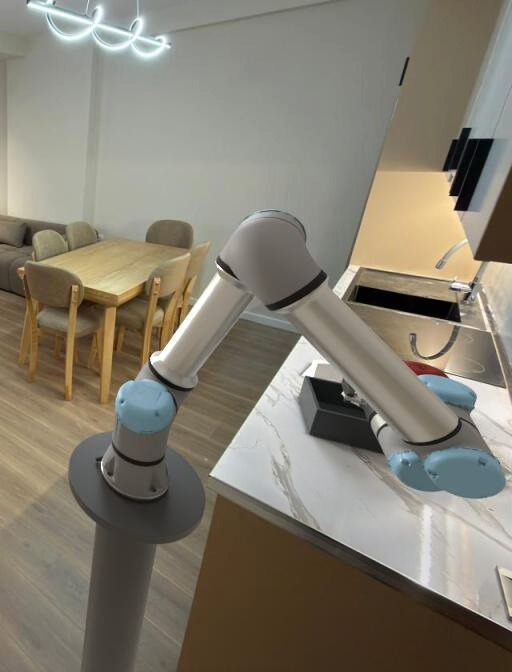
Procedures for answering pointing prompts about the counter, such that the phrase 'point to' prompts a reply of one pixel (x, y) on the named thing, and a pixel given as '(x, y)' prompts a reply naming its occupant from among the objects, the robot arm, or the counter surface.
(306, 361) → the counter surface
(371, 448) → the storage bin
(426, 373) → the apple
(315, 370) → the napkin holder
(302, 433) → the counter surface
